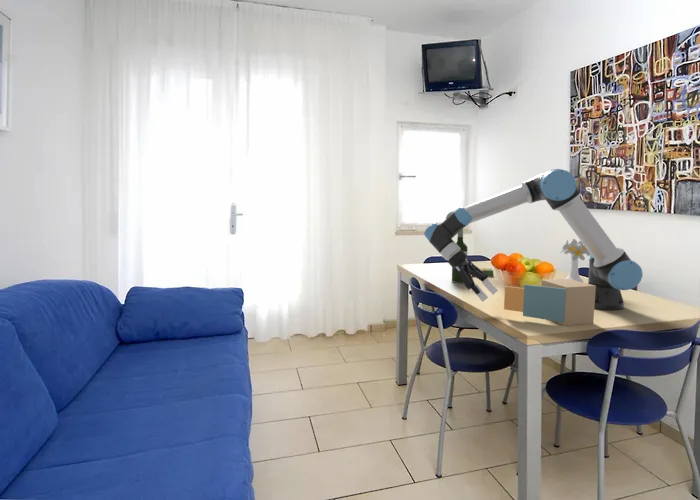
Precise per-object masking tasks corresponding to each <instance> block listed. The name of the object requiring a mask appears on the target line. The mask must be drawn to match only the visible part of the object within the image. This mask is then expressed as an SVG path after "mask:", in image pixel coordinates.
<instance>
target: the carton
mask: <svg viewBox="0 0 700 500" xmlns="http://www.w3.org/2000/svg"><path fill="white" fill-rule="evenodd" d="M478 268H479V267H478ZM479 269H480V270H481V271H483V272H484V273H485V274H486V275H488V276H493V277H494V270H493V269H492V268H487V267H486V268H483V267H482V268H481V267H480V268H479Z"/></svg>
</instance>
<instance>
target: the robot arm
mask: <svg viewBox="0 0 700 500" xmlns="http://www.w3.org/2000/svg"><path fill="white" fill-rule="evenodd" d="M581 194H582V192H581V190H580V189H579V188H578V186H577V180H576V177H575V176H574V175H573V174H572V173H571V172H570V171H568V170H565V169H561V168H555V169H550V170H546V171H543V172H541V173H539V174H537V175H535V176H534V177H531V178H529V179H528V180H525V181H522V182H521V184H520V185H519V186H517V187H516V186H515V187H513V188H510V189H508V190H505V191H503V192H501V193H497V194H495V195H493V196H490V197H488V198H484V199H482V200H480V201H477V202H474V203H471V204H469V205H467V206H460V207H458V208H456V209H455V210H451V211H450V212H448V214H446V216H445V219H444V221H442V222H441V223H438V222H433V223H432V224H431V225H429V226H428V227H427V228H426V229H425V230H424V232H423V235H424V237H425V238H426V239H427V240H428V242H429V243H430V244H431V245H432V246H433V248H434V249H435V250H436V251H437V252H438V254H440V255H441V258H444V260H445V261H447V264H449V265H450V267H451V269H452V268H455V270H456V271H457V273H458V274H459V276H460V278H461V279H462V281H463V283H462V284H464V285H465V287H466V288H467V290H469V291H470V290H471V291H472V292H473V294H475V295H476V297H478V298H479V300H480V301H481V302H482V303H484V302H485V301H486V300H487V299H488V298H489V296H488V295H487V294H486V293H485V292H484V290H483V289H482V288H481V287H480V286H479V285H478V284H477V283H475V281H474V278H473V277H475V278H476V279H477V280H479V281H481V283H482V285H483V286H484V287H485V288H486V289H487V291H489V293H490V294H492V295H494V294H496V293H497V292H498V291H499V290H498V288H497V286H495V285H494V284H493V283H492V282H491V281H490V280H489V279H488V278H489V277H488V275H486V274H485V273H484V272H483V271H481V270H480V269H479V267H478V266H476V265H475V264H474V263H473V262H472V261H471V260H469V261H468V260H467V261H466V258H467V259H468V254H467V255H466V254H465V253H464V252H463V251H462V250H460V249H461V248H460V247H459V246H458V245H457V244H456V243H457V242H455V241H454V240H453V238H454V237H455V236H457V235H458V233H459V232H460V231H461V230H462V229H463V230H464V229H465V228H466V227H467V226H468V225H470V224H472V223H475V222H478V221H480V220H483V219H485V218H489V217H490V216H494V215H496V214H500V213H502V212H505V211H508V210H510V209H513V208H515V207H518V206H520V205H524V204H526V203H528V204H533V203H536V202H540V201H546V202H547V204H548V205H549V207H550V208H551V210H552V211H558V212H559V213H560V214H561V216H562V217H563V219H564V220H565V221H566V222H567V224H568V225H569V226H570V228H571V229H572V231H573V232H574V234H576V236H577V237H578V239H579V241H581V242H582V243H583V245H584V246H585V247H586V248H587V250H588V251H589V252H590V256H589V259H588V260H589V266H588V279H587V280H588V281H587V282H588V283H587V284H591V285H595V286H596V291H595V306H594V309H597V310H603V311H604V310H606V311H607V310H608V311H620V310H623V309H624V307H625V302H624V298H623V294H622V292H621V291H629V290H633V289H634V288H636V287H637V286H638V285H639V284H640V283H641V281H642V279H643V275H644V274H643V268H642V267H641V266H640V265H639V264H638V263H637V262H636V261H634V260H632V259H631V258H630V257H629V255H628V254H627V252H626V251H625V250H624V249H623V248H620V247H619V248H618V247H616V245H615V243H614V242H613V241H612V240H611V238H610V237H609V236H608V234H607V233H606V231H605V230H604V228H602V226H601V225H600V223H599V222H598V221H597V219H596V218H595V217H594V216H593V214H592V212H591V211H590V210H589V208H588V207H587V205H585V203H584V202H583V201H582V199H581ZM471 275H473V276H471Z"/></svg>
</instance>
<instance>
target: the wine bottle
mask: <svg viewBox="0 0 700 500" xmlns="http://www.w3.org/2000/svg"><path fill="white" fill-rule="evenodd" d="M455 243H456V244H457V245H458V246H459V247H460V248H461V249H460V250H462V251H463V252H464V253H465V254H466V255H467V256H468V245H467V244H466V243H465V242H464V228H463V229H462V230H461V231H460V232H459V233H457V241H456V242H455ZM466 261H467V262H468V257H467V258H466ZM452 281H455V282H463V281H462V279H461V278H460V276H459V274H458V273H457V271H456V270H455V268H452V267H451V282H452ZM455 282H454V283H455Z"/></svg>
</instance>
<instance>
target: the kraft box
mask: <svg viewBox="0 0 700 500" xmlns="http://www.w3.org/2000/svg"><path fill="white" fill-rule="evenodd" d="M540 286H544V287H553V288H562V289H566V300H565V317H564V322H559V321H554V322H555V323H557V324H560V325H562V326H573V325H575V326H576V325H591V324H594V319H595V318H594V317H595V308H594V306H595V291H596V286H595V285H591V284H588V283H587V282H584V283H583V282H580V281H576V280H572V279H565V278H555V279H554V278H553V279H552V278H551V279H541V284H540Z"/></svg>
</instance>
